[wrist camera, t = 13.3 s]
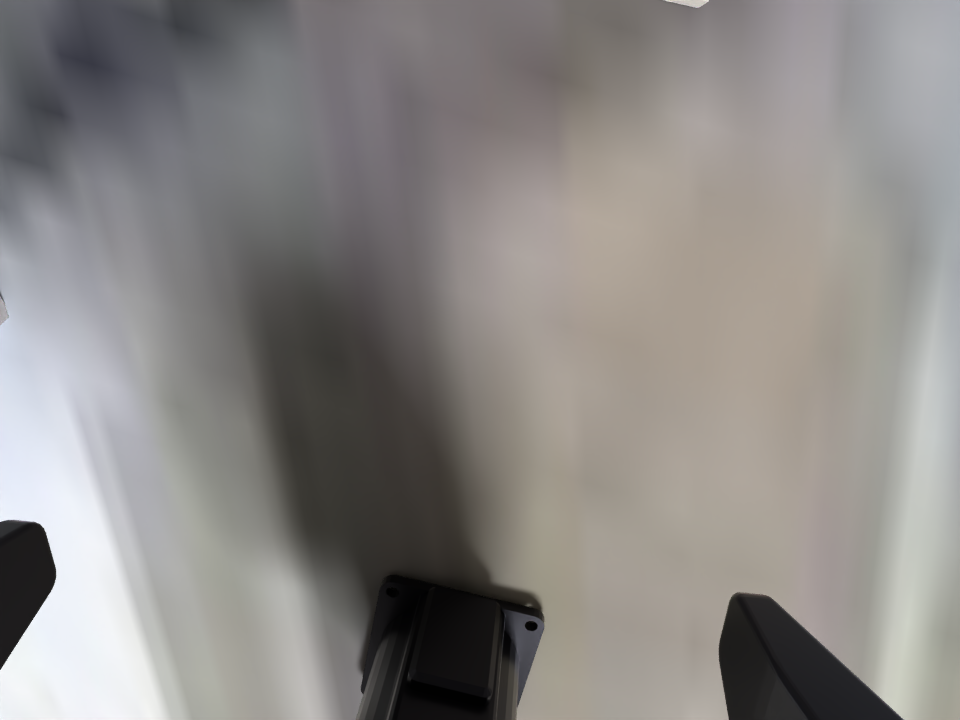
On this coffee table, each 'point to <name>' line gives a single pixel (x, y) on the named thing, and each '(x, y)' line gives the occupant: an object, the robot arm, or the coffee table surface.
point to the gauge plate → (690, 2)
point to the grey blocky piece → (3, 311)
